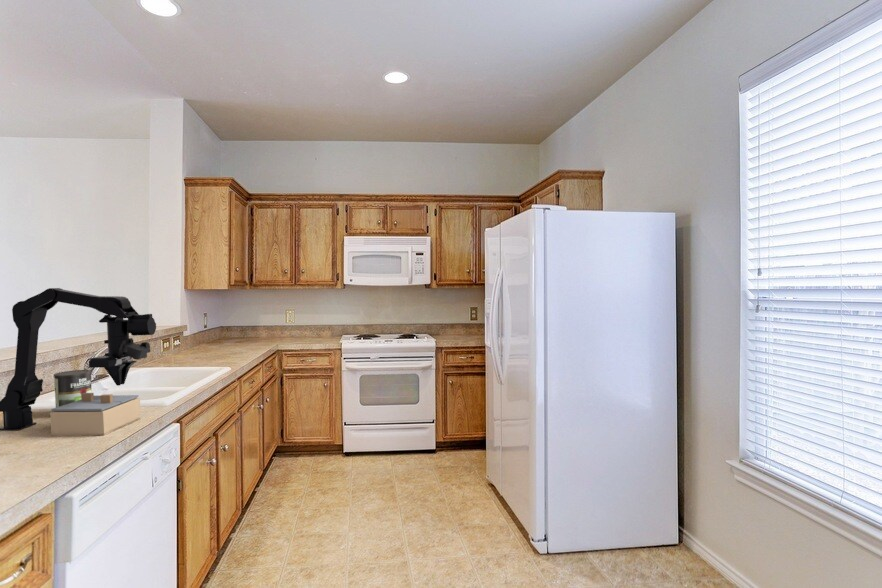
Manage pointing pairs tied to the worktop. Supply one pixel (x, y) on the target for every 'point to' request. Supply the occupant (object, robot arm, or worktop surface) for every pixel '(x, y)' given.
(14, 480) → the worktop surface
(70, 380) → the coffee can
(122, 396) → the lid panel
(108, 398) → the lid panel
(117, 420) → the carton
